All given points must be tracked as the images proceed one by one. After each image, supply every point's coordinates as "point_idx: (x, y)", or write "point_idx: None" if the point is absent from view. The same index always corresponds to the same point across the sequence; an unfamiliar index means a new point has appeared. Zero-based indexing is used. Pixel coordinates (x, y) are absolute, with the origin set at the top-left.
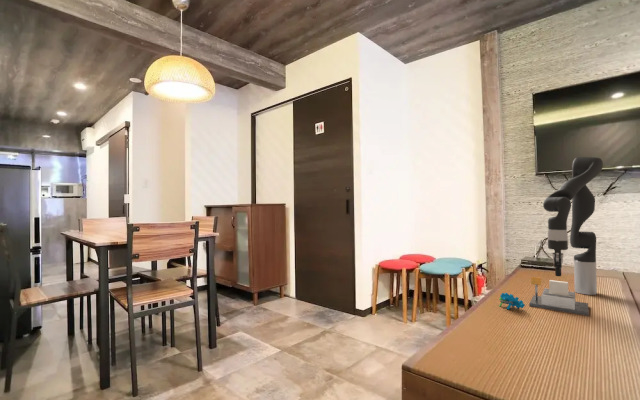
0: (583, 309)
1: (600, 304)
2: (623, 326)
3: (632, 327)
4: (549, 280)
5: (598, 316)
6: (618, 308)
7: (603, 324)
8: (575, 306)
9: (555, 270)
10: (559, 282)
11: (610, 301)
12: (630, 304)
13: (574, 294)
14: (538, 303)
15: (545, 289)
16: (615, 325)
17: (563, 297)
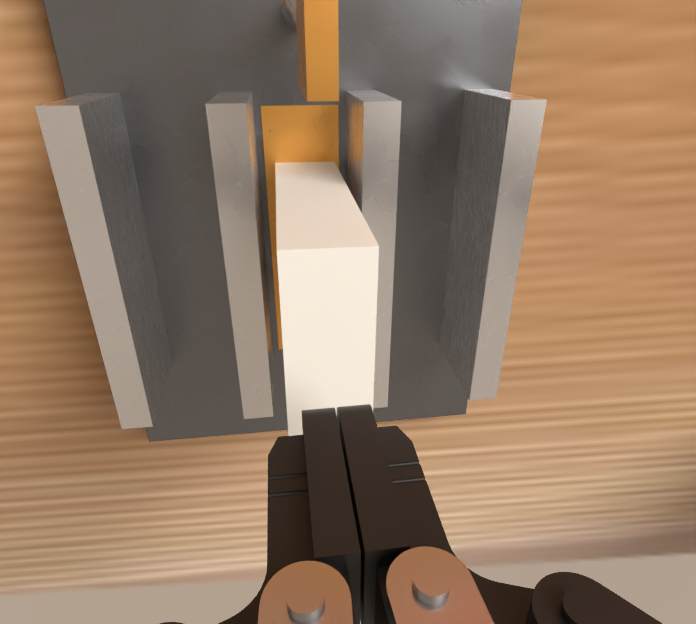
0: (220, 409)
1: (568, 445)
2: (73, 559)
3: (96, 583)
4: (323, 249)
5: (203, 461)
6: (513, 515)
7: (7, 495)
8: (281, 359)
9: (308, 502)
10: (286, 383)
11: (685, 476)
12: (651, 544)
13: (378, 404)
14: (110, 55)
15: (505, 117)
16: (54, 534)
17: (125, 344)
